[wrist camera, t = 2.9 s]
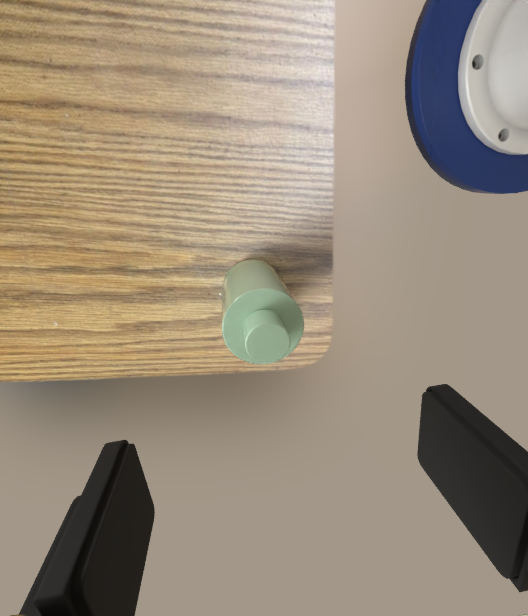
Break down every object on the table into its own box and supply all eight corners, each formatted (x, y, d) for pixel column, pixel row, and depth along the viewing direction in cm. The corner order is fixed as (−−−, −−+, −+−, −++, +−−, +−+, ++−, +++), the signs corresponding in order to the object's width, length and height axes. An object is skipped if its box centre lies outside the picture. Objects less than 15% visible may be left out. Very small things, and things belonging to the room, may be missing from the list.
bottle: (278, 255, 25) (310, 294, 16) (283, 311, 27) (315, 376, 18) (218, 263, 25) (214, 307, 16) (227, 319, 27) (228, 390, 17)
